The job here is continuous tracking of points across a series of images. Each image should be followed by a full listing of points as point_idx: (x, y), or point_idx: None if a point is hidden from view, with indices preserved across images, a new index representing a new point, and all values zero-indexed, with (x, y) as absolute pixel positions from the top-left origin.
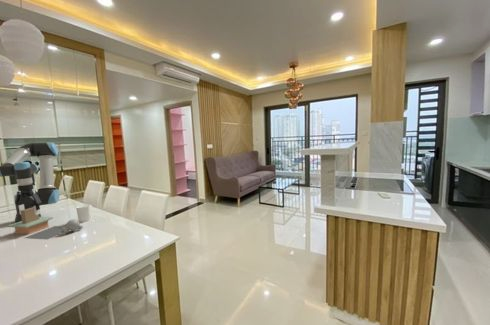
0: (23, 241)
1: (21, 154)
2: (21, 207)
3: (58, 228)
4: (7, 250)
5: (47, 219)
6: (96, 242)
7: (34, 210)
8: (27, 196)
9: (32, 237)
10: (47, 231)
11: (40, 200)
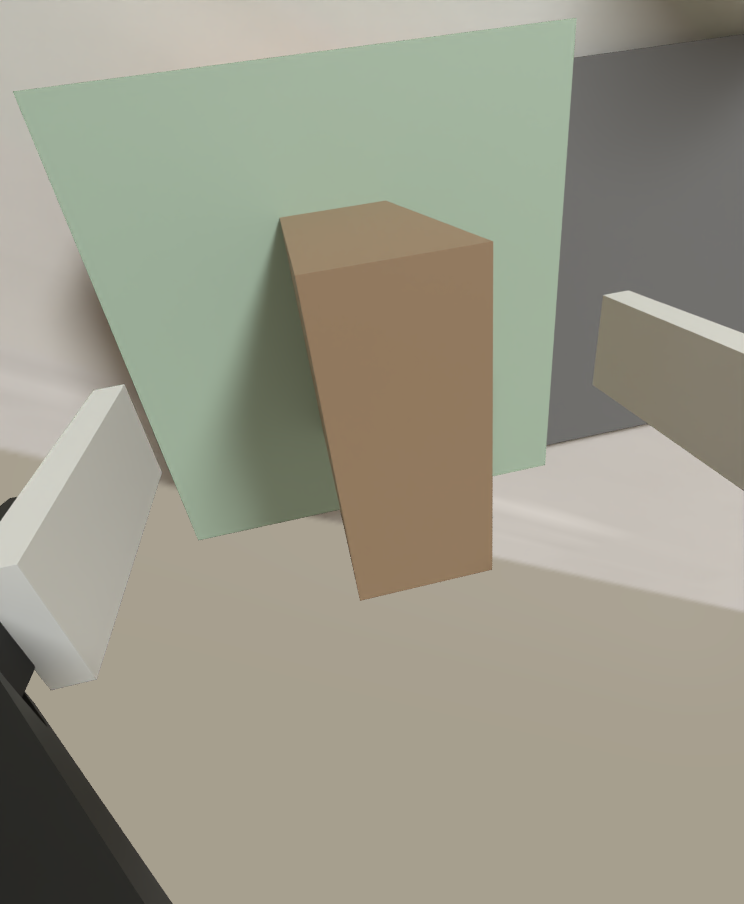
0: (570, 471)
1: None
2: (97, 560)
3: (685, 137)
4: (609, 569)
5: (563, 153)
6: None
7: (665, 434)
8: None
9: (598, 416)
10: (616, 263)
11: None
